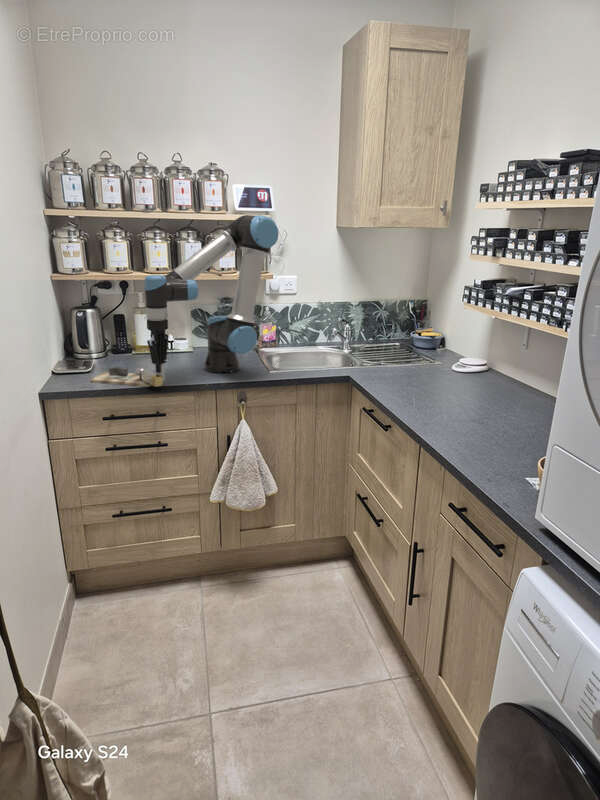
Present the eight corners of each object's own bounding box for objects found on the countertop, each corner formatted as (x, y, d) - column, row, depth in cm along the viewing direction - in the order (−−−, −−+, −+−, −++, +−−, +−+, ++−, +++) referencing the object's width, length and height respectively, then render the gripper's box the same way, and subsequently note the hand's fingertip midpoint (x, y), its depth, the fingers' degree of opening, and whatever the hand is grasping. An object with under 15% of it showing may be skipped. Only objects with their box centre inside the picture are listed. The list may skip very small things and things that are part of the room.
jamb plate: (159, 379, 217) (159, 370, 215) (149, 386, 207) (149, 377, 206) (135, 377, 218) (135, 369, 217) (124, 384, 208) (124, 375, 207)
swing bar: (134, 376, 212) (133, 368, 211) (145, 375, 215) (144, 366, 214) (153, 387, 200) (152, 377, 199) (164, 385, 203) (163, 376, 202)
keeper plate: (138, 376, 220) (137, 366, 218) (124, 384, 208) (124, 374, 207) (105, 373, 221) (104, 364, 220) (90, 382, 210) (89, 372, 209)
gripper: (155, 314, 205) (159, 374, 213) (139, 321, 194) (143, 384, 201) (174, 316, 204) (176, 376, 212) (158, 322, 192) (161, 386, 200)
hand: (160, 380), depth 207 cm, fingers closed
